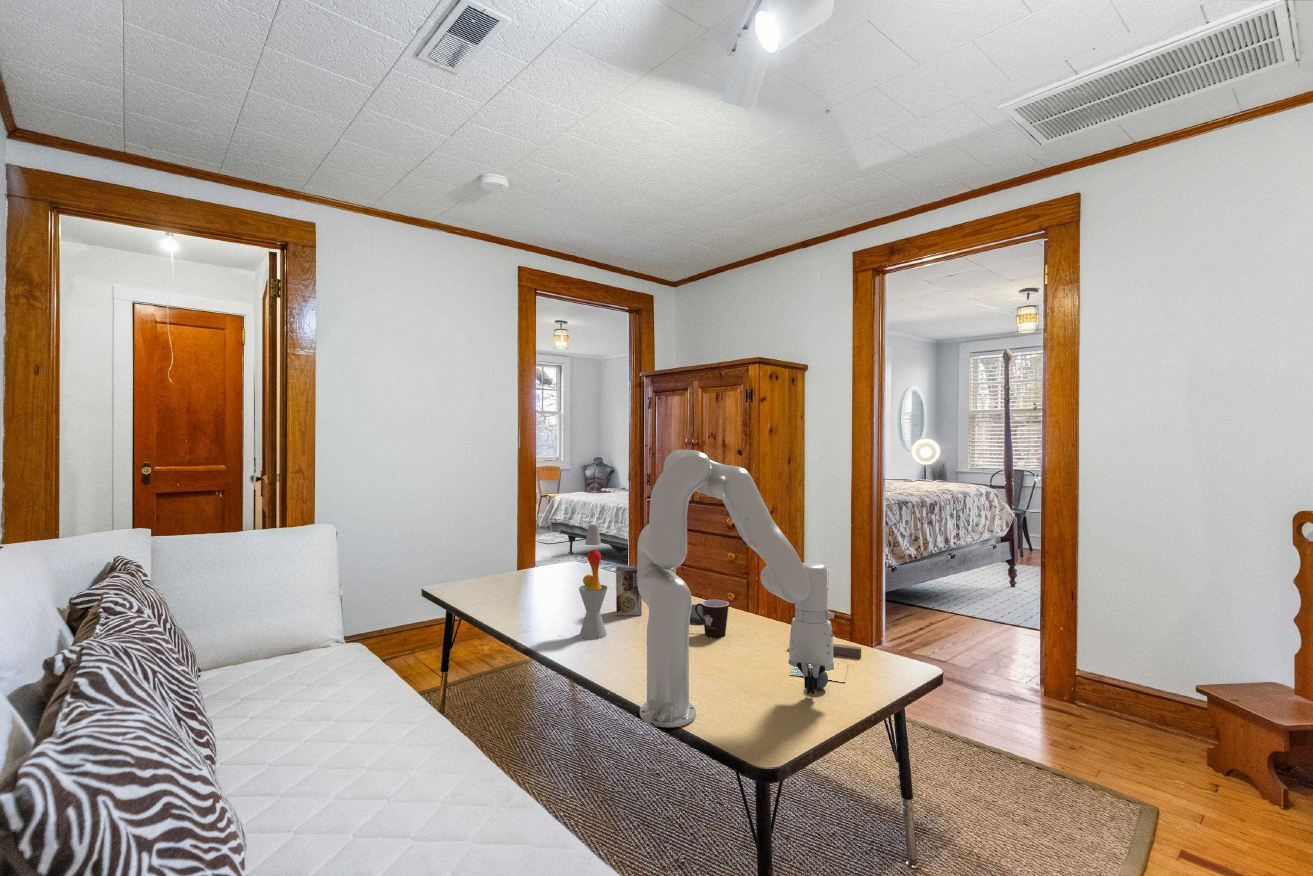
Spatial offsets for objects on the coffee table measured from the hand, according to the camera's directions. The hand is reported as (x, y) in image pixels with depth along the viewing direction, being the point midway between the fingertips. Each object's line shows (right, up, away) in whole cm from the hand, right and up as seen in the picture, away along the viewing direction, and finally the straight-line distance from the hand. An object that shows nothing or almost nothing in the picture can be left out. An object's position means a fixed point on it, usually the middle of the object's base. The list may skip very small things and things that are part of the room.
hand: (811, 691), depth 147 cm
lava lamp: (-57, -2, +46) cm, 74 cm away
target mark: (+7, -2, +18) cm, 19 cm away
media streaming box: (-22, -2, +66) cm, 70 cm away
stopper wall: (+12, -2, +31) cm, 33 cm away
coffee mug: (-19, -2, +48) cm, 52 cm away
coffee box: (-47, -2, +70) cm, 85 cm away
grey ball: (+3, +1, +6) cm, 6 cm away
